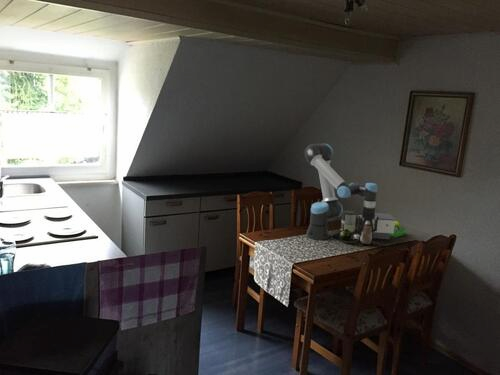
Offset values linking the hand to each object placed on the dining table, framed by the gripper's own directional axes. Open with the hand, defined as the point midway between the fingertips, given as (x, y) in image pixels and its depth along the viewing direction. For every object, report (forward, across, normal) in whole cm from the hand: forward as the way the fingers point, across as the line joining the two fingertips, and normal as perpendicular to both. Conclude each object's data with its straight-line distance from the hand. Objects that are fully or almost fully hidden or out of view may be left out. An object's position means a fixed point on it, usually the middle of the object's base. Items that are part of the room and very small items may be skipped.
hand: (365, 240), depth 278 cm
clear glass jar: (+3, -6, +31) cm, 32 cm away
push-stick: (+1, 0, +5) cm, 5 cm away
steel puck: (+3, -4, +10) cm, 11 cm away
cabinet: (+3, +10, +13) cm, 17 cm away
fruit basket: (+3, +28, +27) cm, 39 cm away
